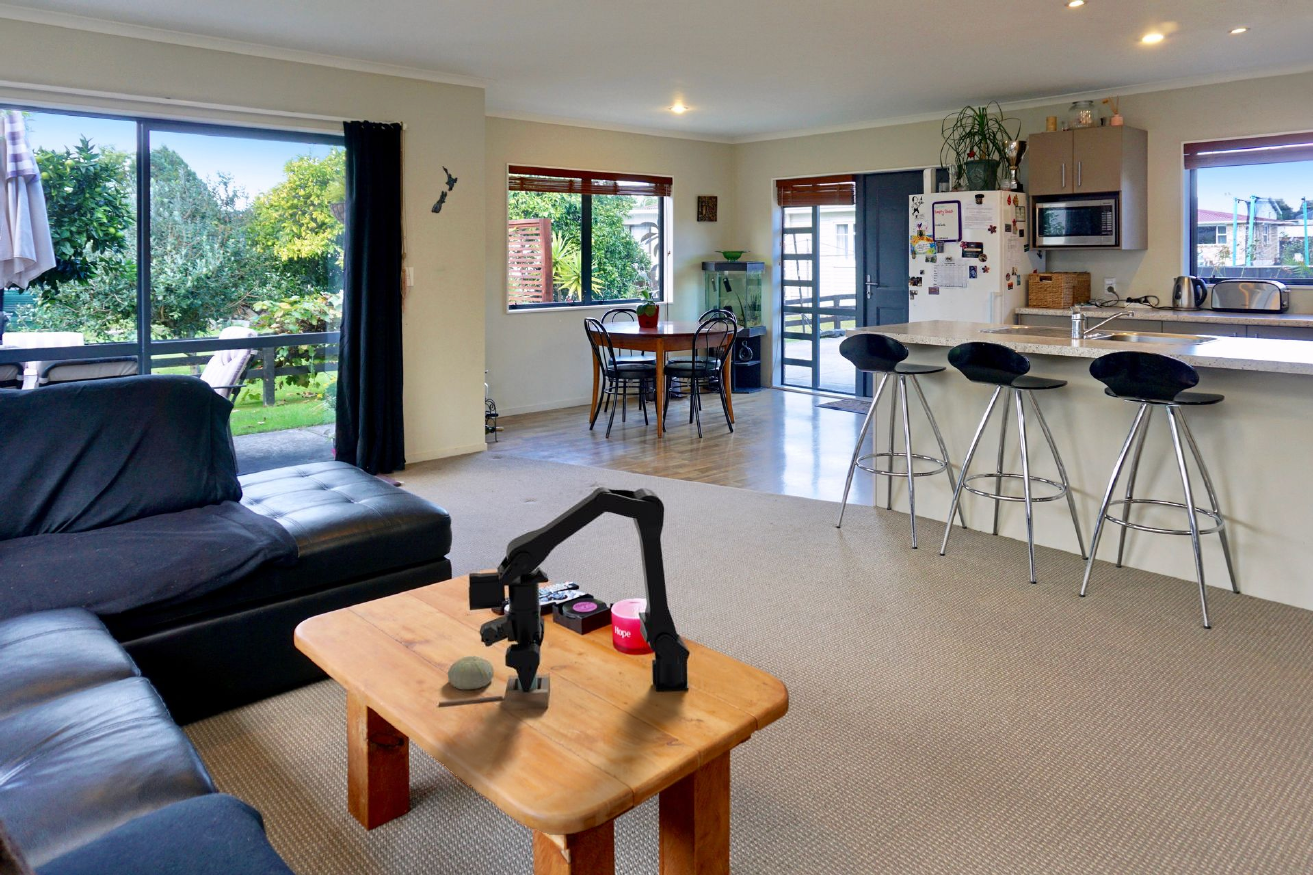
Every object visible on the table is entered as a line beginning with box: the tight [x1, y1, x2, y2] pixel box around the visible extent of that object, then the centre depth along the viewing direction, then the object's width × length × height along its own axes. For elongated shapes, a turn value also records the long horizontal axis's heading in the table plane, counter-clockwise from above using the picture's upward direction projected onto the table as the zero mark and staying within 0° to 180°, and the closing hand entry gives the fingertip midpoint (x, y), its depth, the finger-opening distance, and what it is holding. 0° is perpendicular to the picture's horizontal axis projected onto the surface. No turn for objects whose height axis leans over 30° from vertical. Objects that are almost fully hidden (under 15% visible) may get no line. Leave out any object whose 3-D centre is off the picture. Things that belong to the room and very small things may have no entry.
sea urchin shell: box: [447, 655, 495, 690], centre depth 189 cm, size 9×8×8 cm
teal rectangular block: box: [518, 671, 538, 690], centre depth 181 cm, size 3×3×8 cm
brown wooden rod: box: [438, 695, 504, 707], centre depth 181 cm, size 12×1×1 cm, turn 101°
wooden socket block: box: [504, 673, 551, 711], centre depth 181 cm, size 8×8×3 cm
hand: (527, 681), depth 181 cm, fingers open, 8 cm apart
